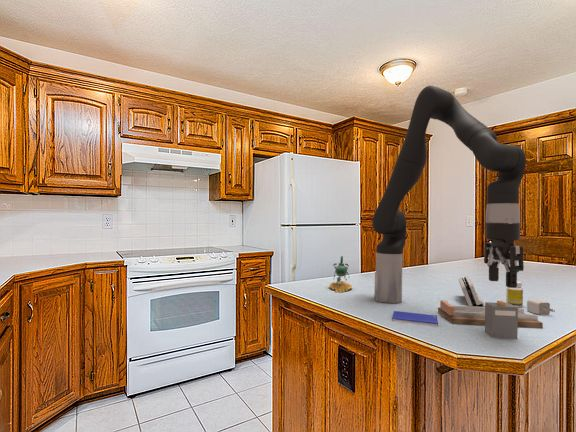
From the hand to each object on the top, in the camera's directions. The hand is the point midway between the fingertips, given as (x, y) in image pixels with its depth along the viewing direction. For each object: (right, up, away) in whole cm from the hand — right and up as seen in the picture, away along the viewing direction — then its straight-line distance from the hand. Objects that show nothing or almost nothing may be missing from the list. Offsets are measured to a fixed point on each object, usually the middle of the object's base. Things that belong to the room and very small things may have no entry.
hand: (502, 284), depth 87 cm
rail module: (0, -13, 0) cm, 13 cm away
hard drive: (-18, -14, +13) cm, 26 cm away
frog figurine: (-33, -13, +54) cm, 65 cm away
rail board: (+4, -13, +14) cm, 20 cm away
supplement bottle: (+24, -14, +31) cm, 41 cm away
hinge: (+11, -14, +36) cm, 41 cm away
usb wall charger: (+26, -14, +21) cm, 36 cm away
